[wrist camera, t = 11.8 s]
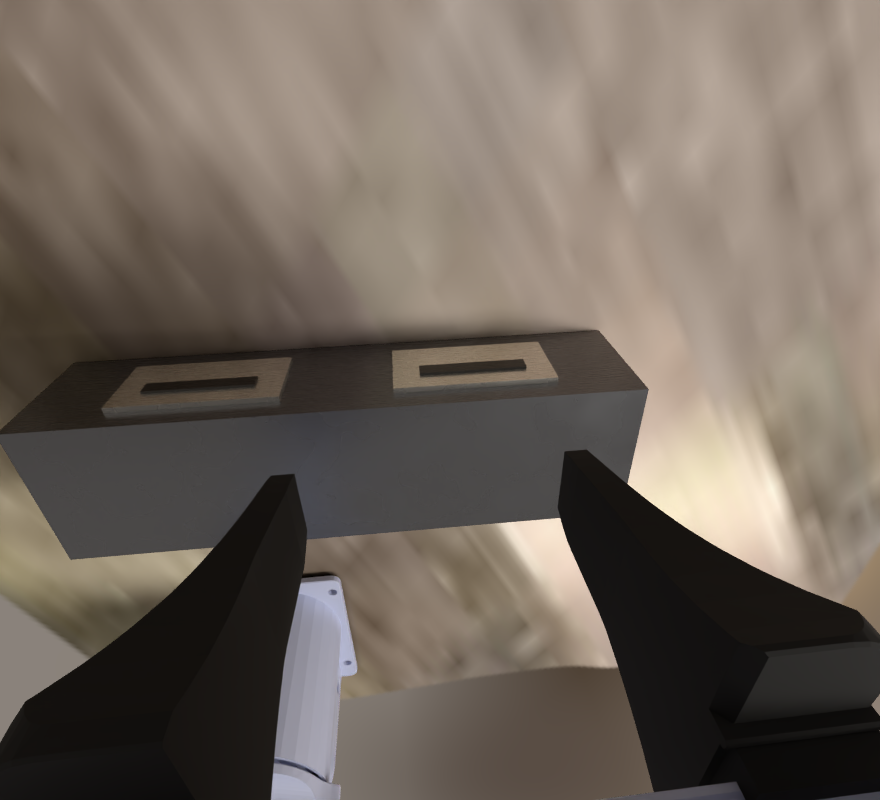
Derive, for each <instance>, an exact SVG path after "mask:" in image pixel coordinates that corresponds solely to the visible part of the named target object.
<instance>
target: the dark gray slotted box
mask: <svg viewBox="0 0 880 800" xmlns="http://www.w3.org/2000/svg"><path fill="white" fill-rule="evenodd" d="M648 390H649V389H648V388H647V387H646V386H645V384H644V383H643V382H642V381H641V380H640V379H639V377H638V376H637V375H636V374H635V373H634V371H633V370H632V369H631V368H630V367H629V366H628V364H627V363H626V362H625V361H624V360H623V359H622V357H621V356H620V355H619V354H618V353H617V351H616V350H615V349H614V348H613V347H612V346H611V344H610V343H609V342H608V341H607V340H606V339H605V337H604V336H603V335H602V334H601V333H600V331H583V332H567V333H551V334H535V335H519V336H503V337H487V338H470V339H454V340H438V341H422V342H406V343H390V344H374V345H358V346H341V347H325V348H309V349H293V350H277V351H261V352H245V353H228V354H212V355H196V356H180V357H164V358H148V359H132V360H115V361H99V362H83V363H73V364H72V365H71V366H70V367H69V368H68V369H67V370H66V371H65V372H64V373H62V374H61V375H60V376H59V377H58V378H57V379H56V380H55V381H54V382H53V383H51V384H50V385H49V386H48V387H47V388H46V389H45V390H44V391H43V392H42V393H41V394H39V395H38V396H37V397H36V398H35V399H34V400H33V401H32V402H31V403H30V404H28V405H27V406H26V407H25V408H24V409H23V410H22V411H21V412H20V413H19V414H18V415H16V416H15V417H14V418H13V419H12V420H11V421H10V422H9V423H8V424H7V425H5V426H4V427H3V428H2V429H1V430H0V444H1V445H2V447H3V449H4V450H5V452H6V454H7V455H8V457H9V459H10V460H11V462H12V463H13V465H14V467H15V468H16V470H17V472H18V473H19V475H20V477H21V478H22V480H23V482H24V483H25V485H26V487H27V488H28V490H29V492H30V493H31V495H32V497H33V498H34V500H35V502H36V503H37V505H38V506H39V508H40V510H41V511H42V513H43V515H44V516H45V518H46V520H47V521H48V523H49V525H50V526H51V528H52V530H53V531H54V533H55V535H56V536H57V538H58V540H59V541H60V543H61V545H62V546H63V548H64V549H65V551H66V553H67V554H68V556H69V558H70V559H71V560H72V559H84V558H95V557H107V556H119V555H130V554H142V553H154V552H165V551H177V550H189V549H201V548H212V547H215V546H216V545H217V544H218V543H219V542H220V540H221V539H222V538H223V537H224V536H225V534H226V533H227V532H228V531H229V529H230V528H231V527H232V526H233V524H234V523H235V522H236V521H237V519H238V518H239V517H240V516H241V514H242V513H243V512H244V510H245V509H246V508H247V506H248V505H249V504H250V502H251V501H252V500H253V498H254V497H255V496H256V494H257V493H258V491H259V490H260V489H261V487H262V486H263V484H264V483H265V482H266V480H267V479H268V478H269V477H270V476H272V475H284V474H295V478H296V483H297V487H298V492H299V496H300V500H301V505H302V509H303V513H304V518H305V522H306V527H307V539H317V538H329V537H341V536H353V535H364V534H376V533H388V532H399V531H411V530H423V529H434V528H446V527H458V526H470V525H481V524H493V523H505V522H516V521H528V520H540V519H551V518H560V515H559V511H558V500H559V492H560V484H561V476H562V468H563V460H564V452H565V451H575V450H588V451H589V452H590V453H591V454H593V455H594V456H595V457H596V458H597V459H599V460H600V461H601V462H602V463H603V464H604V465H605V466H607V467H608V468H609V469H610V470H611V471H612V472H614V473H615V474H616V475H617V476H618V477H619V478H621V479H622V480H623V481H624V482H625V483H628V478H629V474H630V469H631V465H632V460H633V456H634V452H635V447H636V443H637V438H638V434H639V429H640V425H641V421H642V416H643V412H644V407H645V403H646V398H647V394H648Z"/></svg>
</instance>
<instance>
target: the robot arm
mask: <svg viewBox="0 0 880 800" xmlns="http://www.w3.org/2000/svg"><path fill="white" fill-rule="evenodd" d="M558 511H559V515H560V518H561V522H562V525H563V529H564V532H565V535H566V538H567V541H568V544H569V546H570V548H571V551H572V553H573V555H574V558H575V560H576V562H577V564H578V567H579V569H580V571H581V573H582V576H583V578H584V580H585V582H586V584H587V587H588V589H589V591H590V593H591V596H592V598H593V600H594V602H595V605H596V607H597V609H598V611H599V613H600V616H601V618H602V621H603V624H604V626H605V629H606V631H607V634H608V637H609V640H610V643H611V646H612V649H613V652H614V655H615V658H616V661H617V664H618V668H619V671H620V674H621V677H622V680H623V683H624V687H625V690H626V693H627V697H628V700H629V703H630V707H631V710H632V713H633V717H634V720H635V724H636V728H637V731H638V734H639V738H640V741H641V745H642V748H643V752H644V756H645V760H646V763H647V768H648V771H649V775H650V779H651V783H652V787H653V790H654V792H653V793H645V794H637V795H629V796H622V797H614V798H606V799H599V800H880V731H879V730H880V716H879V714H878V713H877V712H876V711H875V709H874V708H873V707H872V706H871V705H872V703H873V702H874V701H875V699H876V698H877V697H878V696H879V694H880V635H879V633H878V632H877V631H876V630H875V629H874V628H873V627H872V625H871V624H870V623H869V622H868V621H867V620H866V619H865V618H864V617H863V616H862V615H861V614H860V613H859V612H858V611H857V610H854V609H852V608H849V607H846V606H844V605H842V604H839V603H836V602H834V601H831V600H829V599H826V598H823V597H821V596H818V595H816V594H813V593H810V592H808V591H805V590H803V589H801V588H798V587H796V586H794V585H792V584H790V583H787V582H785V581H783V580H781V579H778V578H776V577H774V576H772V575H770V574H768V573H766V572H763V571H761V570H759V569H757V568H755V567H753V566H751V565H749V564H747V563H746V562H744V561H742V560H740V559H738V558H736V557H734V556H732V555H730V554H729V553H727V552H725V551H723V550H721V549H720V548H718V547H716V546H714V545H713V544H711V543H709V542H708V541H706V540H705V539H703V538H701V537H700V536H698V535H696V534H695V533H693V532H692V531H690V530H688V529H687V528H685V527H684V526H682V525H681V524H679V523H678V522H676V521H675V520H674V519H672V518H671V517H669V516H668V515H667V514H665V513H664V512H663V511H661V510H660V509H658V508H657V507H656V506H654V505H653V504H652V503H650V502H649V501H648V500H646V499H645V498H644V497H643V496H641V495H640V494H639V493H638V492H636V491H635V490H634V489H633V488H631V487H630V486H629V485H628V484H627V483H625V482H624V481H623V480H622V479H621V478H619V477H618V476H617V475H616V474H615V473H614V472H612V471H611V470H610V469H609V468H608V467H607V466H605V465H604V464H603V463H602V462H601V461H600V460H599V459H597V458H596V457H595V456H594V455H593V454H591V453H590V452H589V451H588V450H575V451H565V452H564V460H563V468H562V476H561V484H560V492H559V500H558ZM306 541H307V527H306V522H305V518H304V513H303V509H302V505H301V500H300V496H299V492H298V487H297V483H296V478H295V474H284V475H272V476H270V477H269V478H268V479H267V480H266V482H265V483H264V484H263V486H262V487H261V489H260V490H259V491H258V493H257V494H256V496H255V497H254V498H253V500H252V501H251V502H250V504H249V505H248V506H247V508H246V509H245V510H244V512H243V513H242V514H241V516H240V517H239V518H238V519H237V521H236V522H235V523H234V524H233V526H232V527H231V528H230V529H229V531H228V532H227V533H226V534H225V536H224V537H223V538H222V539H221V540H220V542H219V543H218V544H217V545H216V546H215V547H214V548H213V550H212V551H211V552H210V553H209V554H208V555H207V556H206V558H205V559H204V560H203V561H202V562H201V563H200V564H199V565H198V566H197V568H196V569H195V570H194V571H193V572H192V573H191V574H190V575H189V576H188V577H187V578H186V579H185V580H184V581H183V582H182V583H181V584H180V585H179V586H178V587H177V588H176V589H175V590H174V591H173V592H172V593H171V594H170V595H168V596H167V597H166V598H165V599H164V600H163V601H162V602H161V603H159V604H158V605H157V606H156V607H155V608H154V609H152V610H151V611H150V612H149V613H148V614H147V615H145V616H144V617H143V618H142V619H141V620H140V621H138V622H137V623H136V624H135V625H134V626H132V627H131V628H130V629H129V630H127V631H126V632H125V633H124V634H122V635H121V636H120V637H118V638H117V639H116V640H115V641H113V642H112V643H111V644H109V645H108V646H107V647H105V648H104V649H103V650H101V651H100V652H98V653H97V654H96V655H94V656H93V657H92V658H90V659H89V660H87V661H86V662H85V663H83V664H82V665H80V666H79V667H77V668H76V669H74V670H73V671H72V672H70V673H68V674H67V675H65V676H64V677H62V678H61V679H59V680H58V681H56V682H55V683H53V684H52V685H50V686H49V687H47V688H46V689H44V690H43V691H41V692H40V693H38V694H37V695H35V696H34V697H32V698H30V699H29V700H27V701H26V702H25V703H24V705H23V706H22V708H21V709H20V711H19V712H18V714H17V715H16V717H15V719H14V720H13V722H12V723H11V725H10V726H9V728H8V730H7V732H6V734H5V736H4V737H3V739H2V741H1V742H0V800H340V787H341V786H340V785H339V784H332V779H333V775H334V770H335V758H336V744H337V743H336V742H337V730H338V717H339V703H340V689H341V676H351V675H354V674H355V673H356V672H357V662H356V657H355V651H354V646H353V641H352V636H351V631H350V626H349V621H348V616H347V610H346V605H345V600H344V595H343V590H342V585H341V580H340V579H339V578H338V577H337V576H320V577H309V578H302V575H303V570H304V564H305V553H306ZM333 589H334V590H333Z"/></svg>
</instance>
